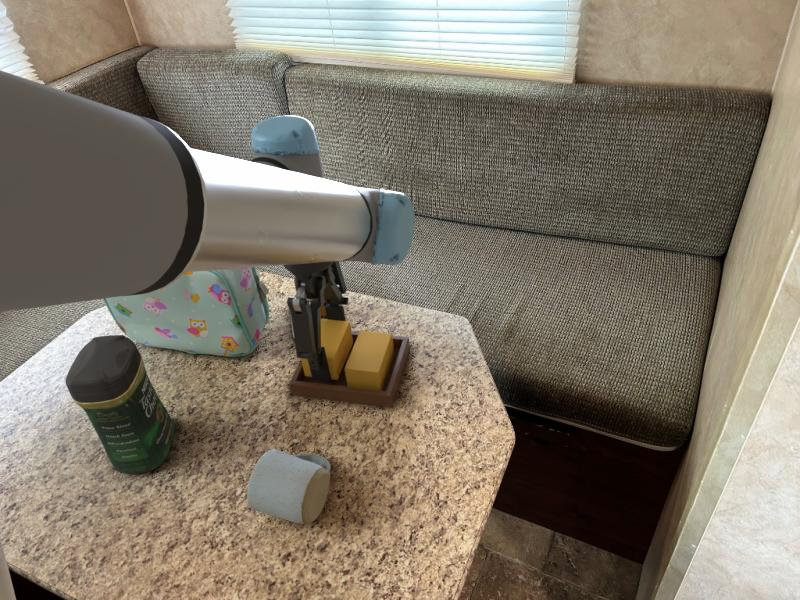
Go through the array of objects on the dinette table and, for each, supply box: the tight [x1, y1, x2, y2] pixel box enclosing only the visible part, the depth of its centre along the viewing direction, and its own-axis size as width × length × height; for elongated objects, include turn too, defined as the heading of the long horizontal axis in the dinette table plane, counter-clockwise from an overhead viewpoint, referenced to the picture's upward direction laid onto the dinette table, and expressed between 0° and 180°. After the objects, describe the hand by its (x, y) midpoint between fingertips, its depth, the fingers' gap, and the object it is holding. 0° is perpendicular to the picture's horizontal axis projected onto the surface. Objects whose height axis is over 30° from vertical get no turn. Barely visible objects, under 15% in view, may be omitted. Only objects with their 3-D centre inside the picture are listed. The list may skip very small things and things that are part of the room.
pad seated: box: [345, 329, 395, 391], centre depth 92 cm, size 8×5×4 cm, turn 167°
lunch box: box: [102, 267, 270, 358], centre depth 97 cm, size 27×10×21 cm, turn 76°
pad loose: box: [300, 319, 353, 380], centre depth 93 cm, size 8×5×4 cm, turn 167°
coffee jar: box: [64, 334, 176, 475], centre depth 80 cm, size 10×8×19 cm
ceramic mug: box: [246, 448, 331, 525], centre depth 76 cm, size 11×8×8 cm
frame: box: [288, 330, 411, 409], centre depth 94 cm, size 13×16×3 cm
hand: (331, 357), depth 94 cm, fingers closed on pad loose, 8 cm apart
